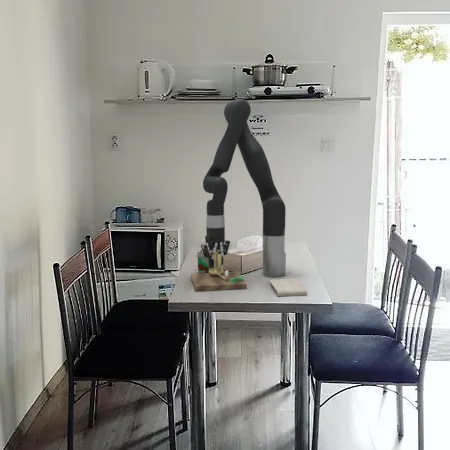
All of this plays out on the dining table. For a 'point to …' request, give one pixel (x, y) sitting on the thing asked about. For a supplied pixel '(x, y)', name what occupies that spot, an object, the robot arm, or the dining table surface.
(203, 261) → the food container
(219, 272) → the tan bar with dome
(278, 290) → the washcloth
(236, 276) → the dial board
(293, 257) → the dining table surface
